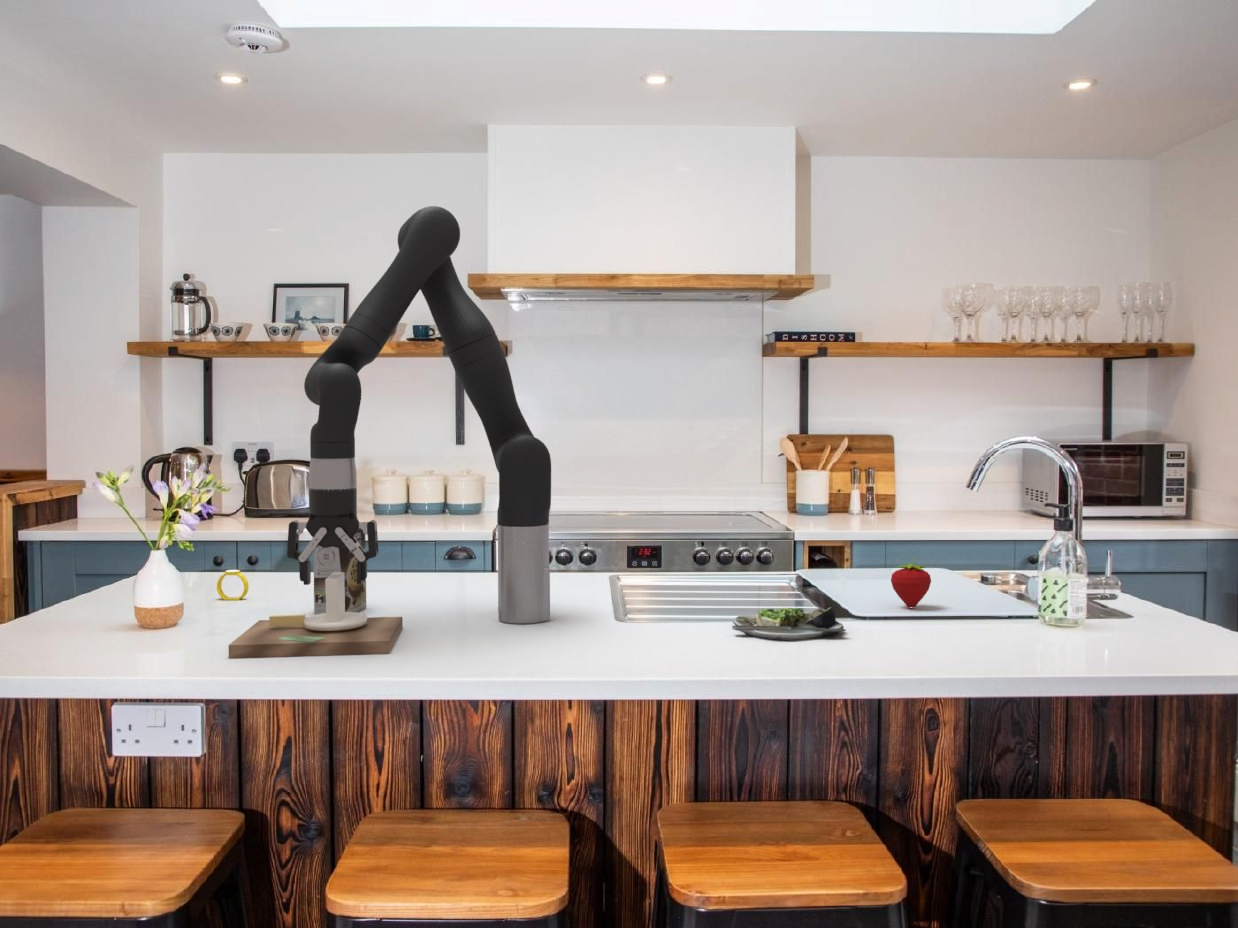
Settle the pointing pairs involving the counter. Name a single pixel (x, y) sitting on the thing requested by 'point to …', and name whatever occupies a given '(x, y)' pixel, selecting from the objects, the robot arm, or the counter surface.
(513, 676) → the counter surface
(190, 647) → the counter surface
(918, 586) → the strawberry
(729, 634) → the counter surface
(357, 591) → the coffee box
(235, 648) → the dial board
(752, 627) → the salad plate
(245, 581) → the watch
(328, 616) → the dial knob
